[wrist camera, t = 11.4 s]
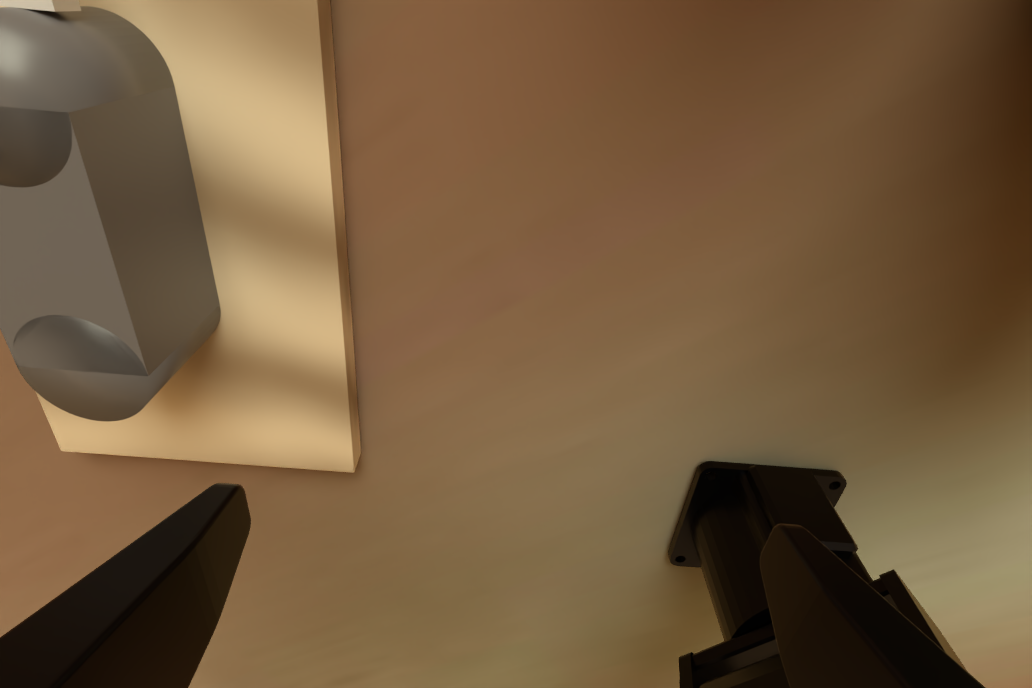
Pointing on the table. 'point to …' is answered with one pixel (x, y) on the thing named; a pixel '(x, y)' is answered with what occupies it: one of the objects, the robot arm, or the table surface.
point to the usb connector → (96, 212)
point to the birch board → (253, 244)
